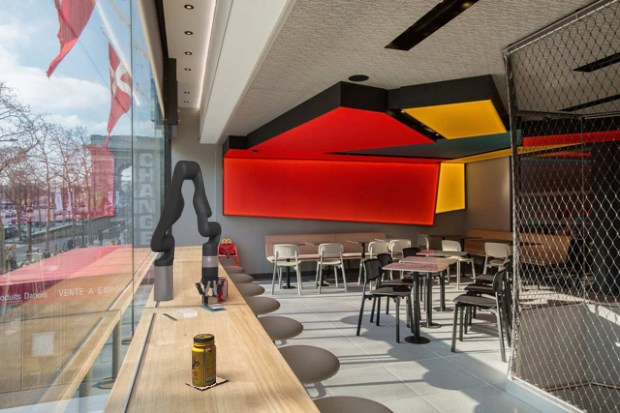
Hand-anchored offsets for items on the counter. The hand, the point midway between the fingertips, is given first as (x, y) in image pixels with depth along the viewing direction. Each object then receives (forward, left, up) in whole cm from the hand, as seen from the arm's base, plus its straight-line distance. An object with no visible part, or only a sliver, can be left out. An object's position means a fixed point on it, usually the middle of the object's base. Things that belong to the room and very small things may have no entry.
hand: (210, 303), depth 191 cm
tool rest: (+1, 0, -3) cm, 3 cm away
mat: (+5, -14, -3) cm, 15 cm away
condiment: (+78, -36, -3) cm, 86 cm away
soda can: (-12, +11, -3) cm, 17 cm away
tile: (+3, -14, -1) cm, 14 cm away
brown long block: (+2, 0, -1) cm, 2 cm away
